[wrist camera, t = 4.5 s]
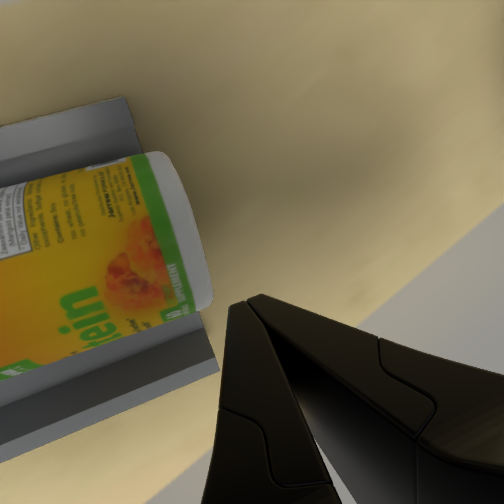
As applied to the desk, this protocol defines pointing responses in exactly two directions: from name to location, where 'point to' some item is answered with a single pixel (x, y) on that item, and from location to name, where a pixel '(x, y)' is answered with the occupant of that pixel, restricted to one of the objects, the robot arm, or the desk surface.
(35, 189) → the supplement bottle
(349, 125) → the desk surface
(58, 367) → the tray
